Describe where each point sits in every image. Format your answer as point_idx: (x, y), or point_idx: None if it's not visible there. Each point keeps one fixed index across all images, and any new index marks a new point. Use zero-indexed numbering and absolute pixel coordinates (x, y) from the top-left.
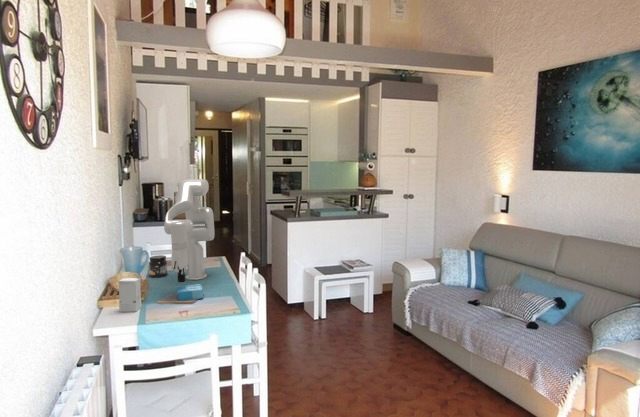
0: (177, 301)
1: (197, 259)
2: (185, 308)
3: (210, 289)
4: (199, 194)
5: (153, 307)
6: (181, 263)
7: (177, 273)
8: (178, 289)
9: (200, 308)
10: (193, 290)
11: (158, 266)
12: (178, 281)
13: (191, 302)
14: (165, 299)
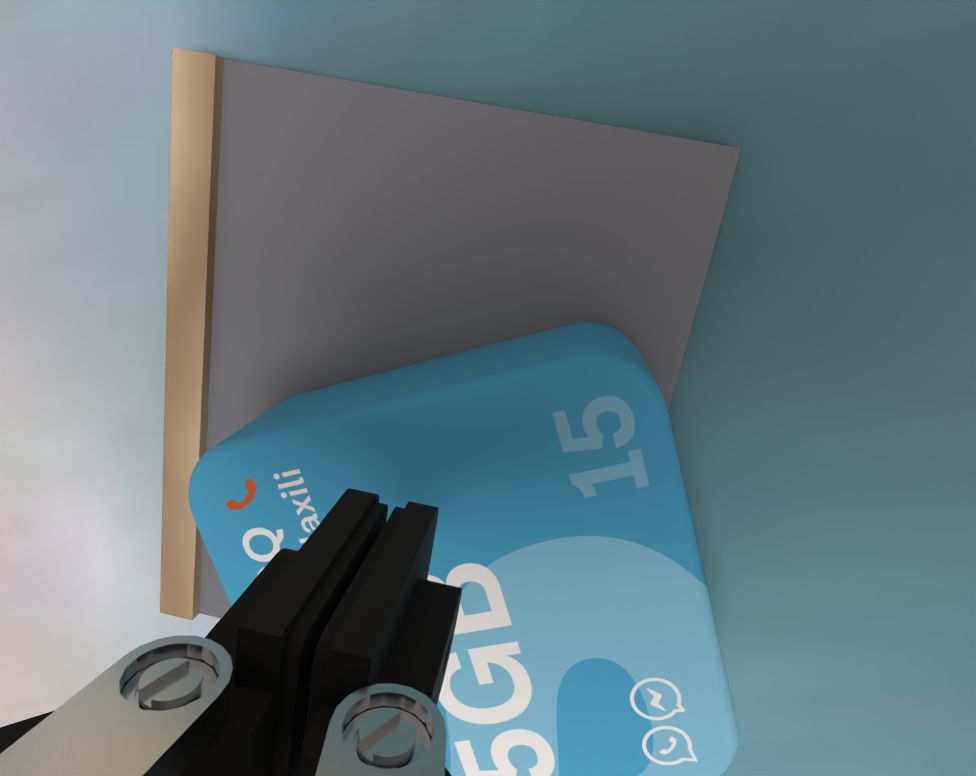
0: (189, 409)
1: None
2: (15, 543)
3: (909, 750)
4: None
5: (13, 64)
6: None
7: (101, 694)
8: (357, 430)
9: (31, 701)
10: None
11: None
12: (345, 505)
13: (164, 602)
14: (353, 156)
